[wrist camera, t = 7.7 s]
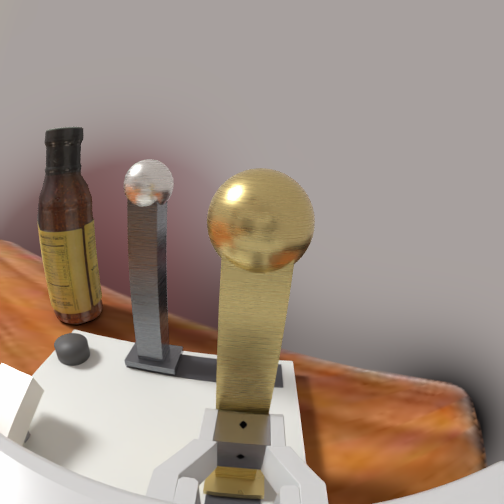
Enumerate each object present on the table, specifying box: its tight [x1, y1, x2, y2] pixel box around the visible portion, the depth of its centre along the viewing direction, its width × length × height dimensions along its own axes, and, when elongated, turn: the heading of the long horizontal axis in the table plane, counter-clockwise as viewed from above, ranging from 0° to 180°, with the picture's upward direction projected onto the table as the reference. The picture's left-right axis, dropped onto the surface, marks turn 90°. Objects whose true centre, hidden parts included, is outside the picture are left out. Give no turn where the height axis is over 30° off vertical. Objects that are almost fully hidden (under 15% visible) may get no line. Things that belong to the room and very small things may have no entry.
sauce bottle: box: [37, 127, 103, 324], centre depth 26 cm, size 7×6×20 cm
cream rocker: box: [0, 363, 44, 446], centre depth 10 cm, size 3×6×2 cm, turn 178°
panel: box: [23, 330, 306, 504], centre depth 14 cm, size 20×20×3 cm
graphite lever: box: [124, 159, 183, 375], centre depth 19 cm, size 4×3×15 cm
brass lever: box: [203, 168, 315, 499], centre depth 11 cm, size 3×4×15 cm
